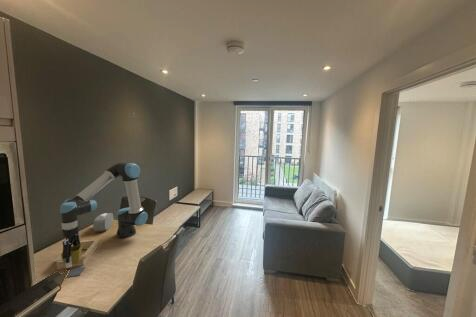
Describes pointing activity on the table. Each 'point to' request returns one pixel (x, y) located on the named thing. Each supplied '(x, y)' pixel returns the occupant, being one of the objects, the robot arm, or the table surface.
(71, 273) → the mat
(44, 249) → the table surface
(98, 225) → the alarm clock
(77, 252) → the flower pot
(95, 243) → the wooden tray
